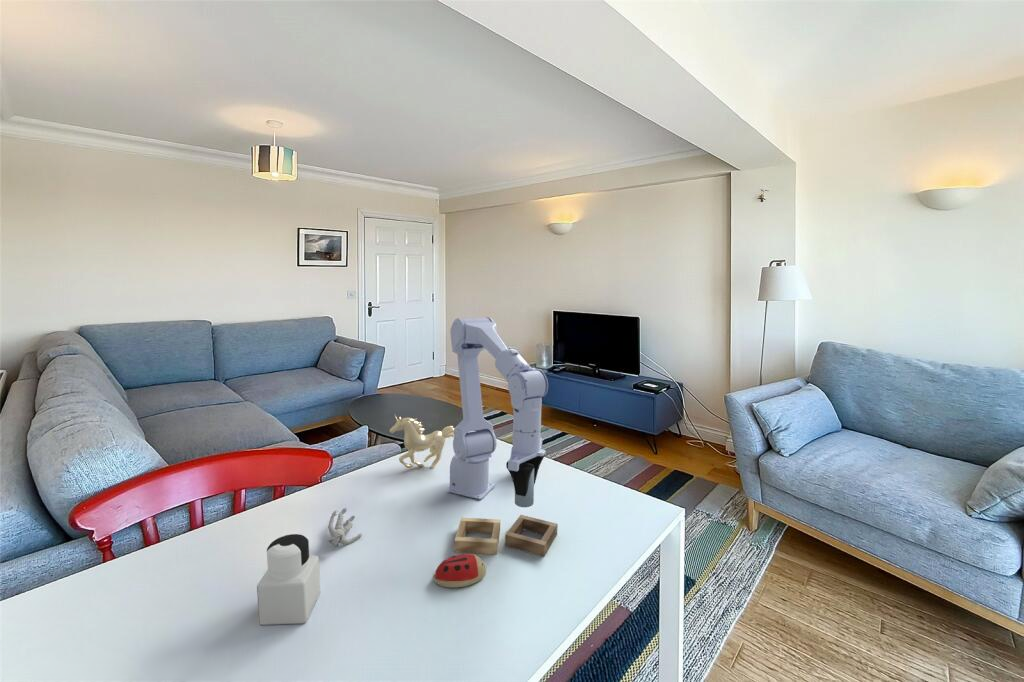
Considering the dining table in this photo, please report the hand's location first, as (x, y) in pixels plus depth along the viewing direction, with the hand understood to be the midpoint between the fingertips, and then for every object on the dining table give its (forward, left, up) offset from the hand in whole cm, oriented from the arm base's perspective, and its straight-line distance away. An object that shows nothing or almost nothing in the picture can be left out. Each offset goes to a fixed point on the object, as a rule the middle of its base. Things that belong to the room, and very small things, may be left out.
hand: (525, 490), depth 96 cm
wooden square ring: (+2, -1, -10) cm, 10 cm away
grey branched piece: (-34, -17, -10) cm, 39 cm away
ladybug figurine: (-6, -17, -11) cm, 21 cm away
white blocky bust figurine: (-27, -36, -10) cm, 46 cm away
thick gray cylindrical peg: (0, 0, -3) cm, 3 cm away
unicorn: (-37, +19, -10) cm, 43 cm away
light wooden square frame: (-8, -6, -10) cm, 14 cm away
